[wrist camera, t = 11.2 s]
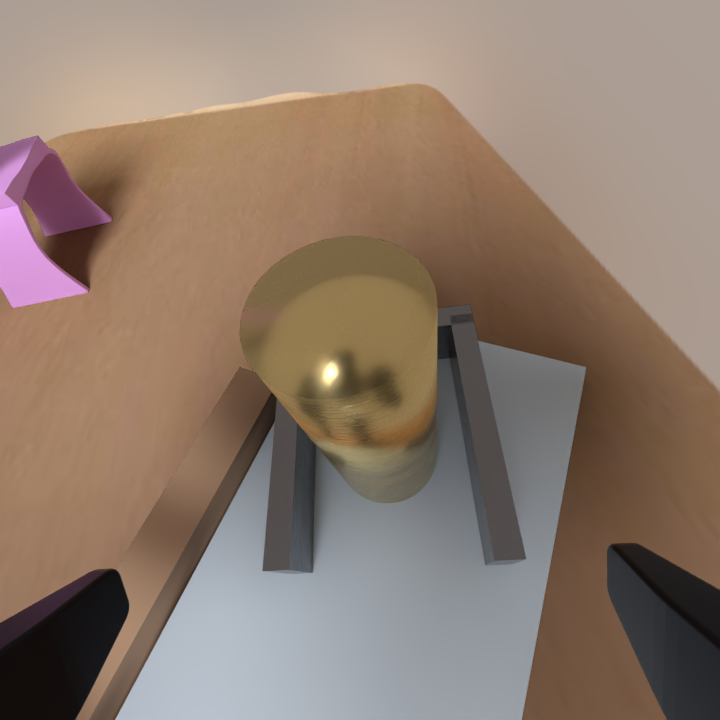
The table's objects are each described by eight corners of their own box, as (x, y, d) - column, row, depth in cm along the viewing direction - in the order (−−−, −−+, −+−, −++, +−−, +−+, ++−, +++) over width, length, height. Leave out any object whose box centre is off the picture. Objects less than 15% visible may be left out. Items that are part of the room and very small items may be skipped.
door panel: (414, 1252, 9) (411, 1318, 9) (52, 866, 14) (27, 884, 13) (579, 376, 20) (586, 367, 19) (339, 316, 24) (336, 306, 23)
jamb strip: (88, 792, 15) (29, 826, 13) (47, 754, 16) (-15, 780, 13) (294, 400, 22) (278, 380, 20) (258, 388, 23) (239, 367, 20)
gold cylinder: (391, 526, 17) (335, 444, 7) (318, 457, 19) (202, 324, 9) (457, 446, 18) (480, 288, 9) (382, 389, 20) (335, 213, 11)
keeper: (511, 564, 15) (526, 558, 13) (289, 573, 16) (262, 571, 14) (466, 339, 21) (470, 304, 18) (300, 358, 22) (282, 328, 19)
